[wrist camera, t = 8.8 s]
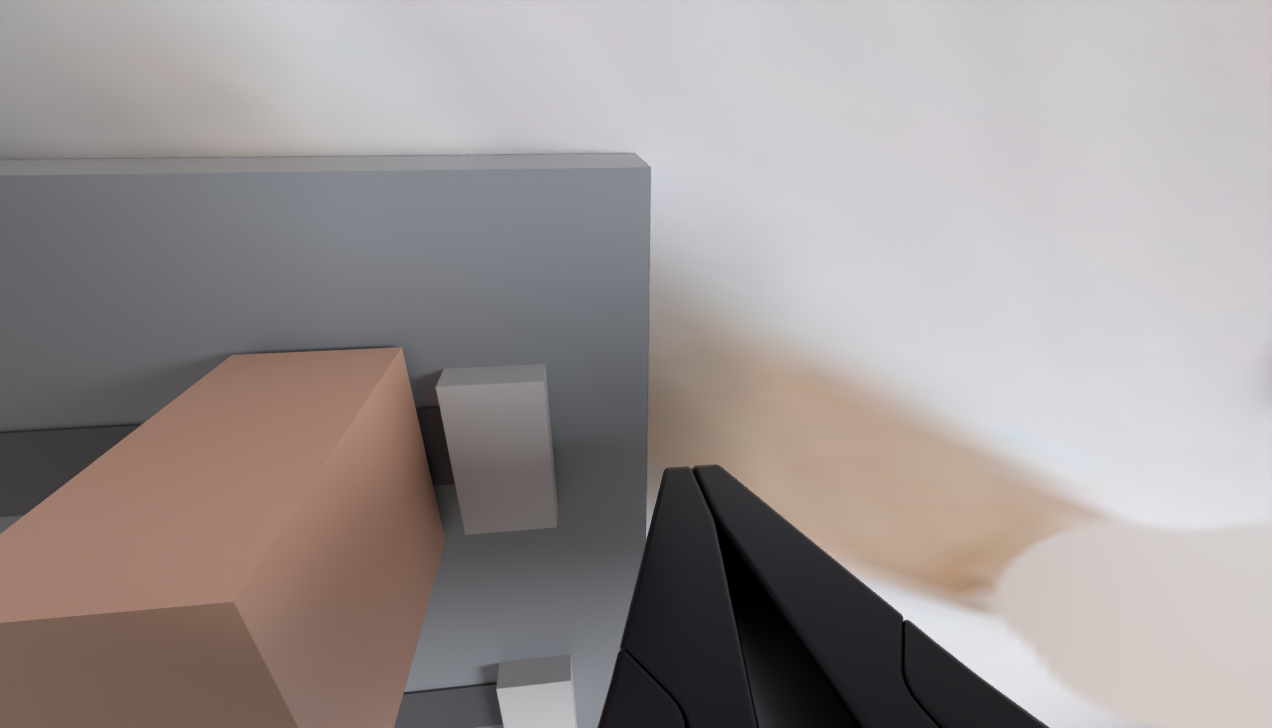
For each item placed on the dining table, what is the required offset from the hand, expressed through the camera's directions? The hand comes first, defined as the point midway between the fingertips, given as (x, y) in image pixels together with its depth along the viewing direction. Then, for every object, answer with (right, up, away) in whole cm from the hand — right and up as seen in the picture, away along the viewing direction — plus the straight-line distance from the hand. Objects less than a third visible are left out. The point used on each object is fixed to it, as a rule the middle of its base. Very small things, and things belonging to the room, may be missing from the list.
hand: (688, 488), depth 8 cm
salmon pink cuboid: (-6, 0, +1) cm, 6 cm away
